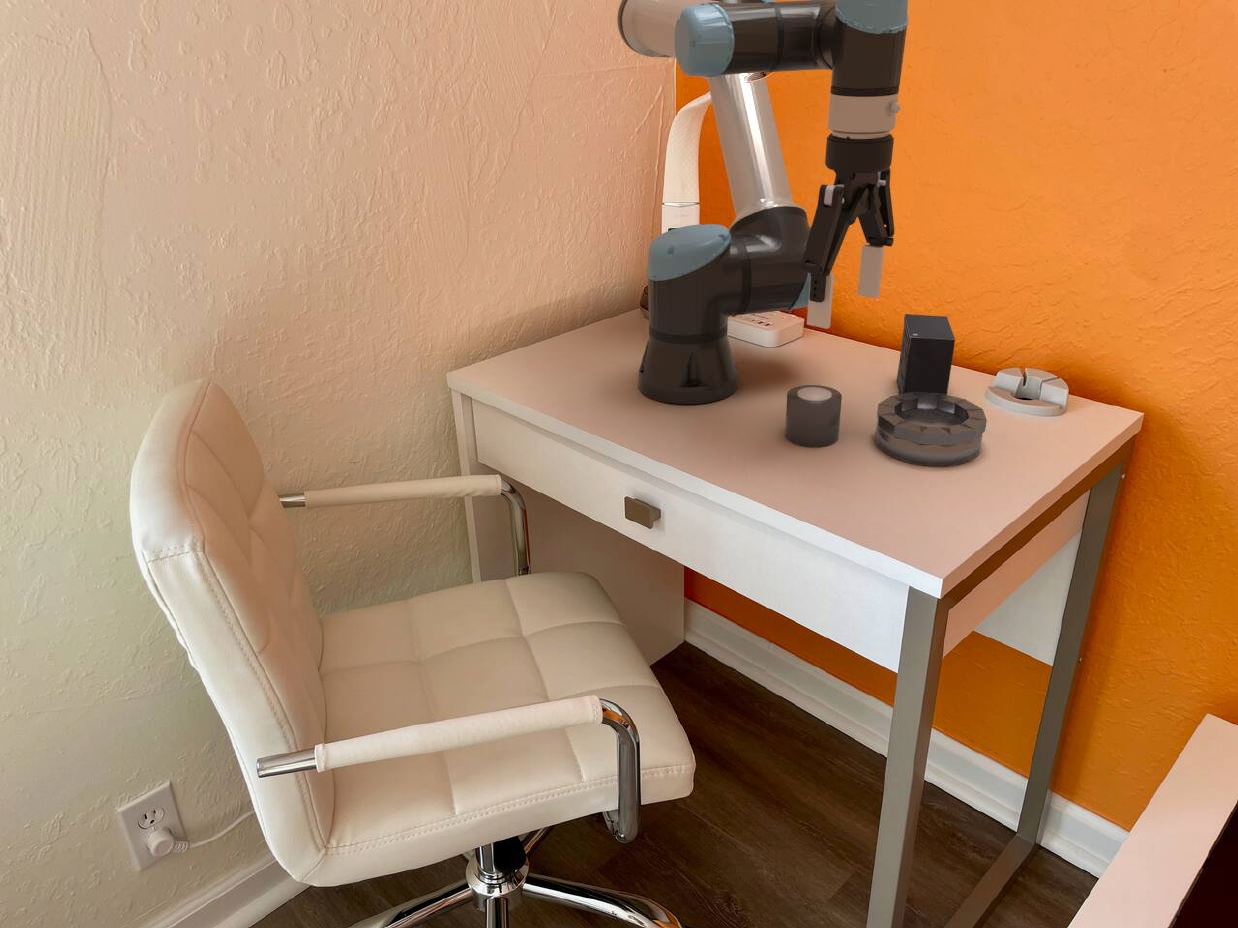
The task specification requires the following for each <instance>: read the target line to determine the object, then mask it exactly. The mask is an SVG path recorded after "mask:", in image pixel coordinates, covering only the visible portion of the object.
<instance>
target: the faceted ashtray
mask: <svg viewBox="0 0 1238 928" xmlns="http://www.w3.org/2000/svg"><path fill="white" fill-rule="evenodd" d="M876 413H877V414H876V417H877V421H876V422H877V423H876V432H875V444H876V446H877V448H878V449H879V450H880V451H881V452H883V453H884V454H885V455H887V456H889V457H891V458H892V459H893V458H894V459H896V460H898V461H901V462H904V463H909V464H913V465H917V466H922V467H937V468H939V467H941V468H942V467H953V466H954V467H955V466H958V465H963V464H966V463H969V462H971V461H973V460H974V459H976V458H977V457H978V456H979V454H980V452H981V445H982V440H983V434H984V433H985V431H986V428H987V418H986V414H985V411H984V409H983V408H982V407H980V406H978V405H976V404H974V403H973V402H971V401H969V400H968V399H966V398H961V397H957V396H953V395H950V394H947V395H946V394H942V393H926V392H910V393H904V394H899V393H898V394H894V395H893V394H892V395H890V396H888V397H886V398H885V399H884V400H882V401H881V402H879V403H878V404H877V412H876Z"/></svg>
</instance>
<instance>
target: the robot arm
mask: <svg viewBox="0 0 1238 928" xmlns="http://www.w3.org/2000/svg"><path fill="white" fill-rule="evenodd" d="M908 9H909V0H788V1H787V0H786V1H785V0H784V1H783V0H782V1H776V0H621V2H620V4H619V7H618V10H617V19H616V21H617V29H618V32H619V34H620V37H621V39H622V40H623V42H624V44H625V45H626V46H627V47H628V48H629V49H630V50H632V51H633V52H635V53H637V54H639V55H641V56H644V57H648V58H649V57H650V58H674V59H676V61H677V64H678V66H679V69H680V71H681V73H683V74H685V75H686V76H689V77H700V78H702V79H705V80H706V81H707V85H708V90H709V94H710V99H711V104H712V109H713V112H714V119H715V122H716V127H717V132H718V133H717V134H718V137H719V142H720V146H721V152H722V155H723V156H722V157H723V161H724V165H725V166H724V167H725V171H726V175H727V180H728V181H727V182H728V186H729V189H730V190H729V191H730V193H731V194H730V195H731V199H732V202H733V209H734V212H735V213H734V214H735V219H734V220H733V221H732V223H731V225H730V226H729V229H728V228H727V227H726V226H724V225H722V224H718V223H717V224H714V223H708V224H707V223H706V224H699V223H698V224H691V225H685V226H680V227H676V228H674V229H670V230H667V231H665V232H663V233H661V234H659V235H658V236H657V237H655V238H654V239H653V240H652V241H651V243H650V245H649V247H648V251H647V253H648V254H647V264H646V265H647V267H646V273H645V274H646V277H647V296H648V297H647V301H648V340H647V343H646V347H645V350H644V353H643V356H642V359H641V363H640V366H639V370H638V374H637V375H638V376H637V377H638V379H637V380H638V381H637V382H638V389H639V391H640V392H641V393H642V394H644V396H646V397H648V398H650V399H653V400H656V401H659V402H663V403H669V404H673V405H674V404H677V405H700V404H706V403H712V402H717V401H720V400H723V399H725V398H728V397H729V396H732V395H733V394H734V393H735V392H736V391H737V390H738V387H739V370H738V367H737V364H736V363H735V358H734V354H733V351H732V347H731V345H730V341H729V338H728V330H729V329H728V324H729V317H735V316H743V315H744V316H745V315H746V316H747V315H752V314H754V315H755V314H764V313H771V312H780V311H782V312H783V311H786V312H791V311H793V310H795V309H800V308H801V309H802V308H807V316H806V325H809V326H812V327H817V328H822V329H825V330H826V329H827V330H828V329H830V327H831V318H832V309H833V308H832V307H833V296H834V295H833V294H834V292H833V291H834V285H835V284H834V283H835V273H831V272H832V269H833V267H834V265H835V262H836V259H837V257H838V255H839V252H840V250H841V247H842V246H843V242H844V240H845V238H846V235H847V234H848V233H847V232H848V230H849V228H850V226H852V225H854V224H855V223H856V221H857V218H858V221H859V224H860V227H861V231H862V233H863V236H864V240H865V242H866V244H863V245H862V246H861V254H860V267H859V276H858V285H857V296H861V297H867V298H872V299H878V298H880V294H881V293H880V292H881V283H882V275H883V274H882V273H883V265H884V259H885V250H886V249H885V247H892V246H893V245H894V240H895V239H894V235H895V222H894V214H893V205H892V202H893V201H892V195H891V186H890V185H891V183H890V182H891V168H890V167H891V166H892V161H893V151H894V142H895V137H893V134H891V133H890V132H892V131H893V130H894V129H895V127H896V119H897V113H899V112H900V110H901V104H900V103H899V90H900V85H901V80H902V79H901V78H902V77H901V76H902V71H903V62H904V53H905V44H906V38H907V29H908V25H909V15H908ZM815 70H816V71H817V70H822V71H823V70H824V71H825V70H827V71H831V83H830V85H831V86H830V91H829V92H830V93H829V94H830V95H829V104H828V114H827V115H828V116H827V129H828V130H829V131H831V133H830V134H829V135H828V136H827V137H826V142H825V143H826V144H825V145H826V146H825V159H824V164H825V167H826V168H827V169H829V170H832V171H833V172H834V173H835V177H834V182H833V184H832V185H829V184H823V183H822V184H821V185H820V187H819V192H818V199H817V206H816V210H815V213H814V217H813V220H812V224H811V225H810V224H809V219H808V216H807V210H806V209H805V208H804V207H803V206H801V205H798V204H796V203H794V201H793V195H792V192H791V187H790V184H789V178H788V173H787V171H786V165H785V161H784V155H783V151H782V148H781V142H780V138H779V134H778V129H777V124H776V119H775V116H774V115H775V114H774V110H773V106H772V102H771V97H770V92H769V88H768V84H767V81H766V80H767V79H766V76H765V77H764V78H763V79H761V80H758V81H755V82H751V83H746V82H747V81H744V77H745V76H748V75H749V74H750V73H758V72H764V73H779V72H780V73H781V72H797V71H798V72H799V71H800V72H801V71H802V72H803V71H815ZM740 79H741V80H740ZM750 81H751V80H750ZM884 246H885V247H884Z"/></svg>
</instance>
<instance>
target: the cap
mask: <svg viewBox="0 0 1238 928" xmlns="http://www.w3.org/2000/svg"><path fill="white" fill-rule="evenodd" d="M842 399H843V397H842V393H841V392H840V391H839V390H837V389H835V388H833V387H830V386H826V385H820V384H806V385H805V384H804V385H798V386H793V387H792V388H790V389H789V390H788V391H787V393H786V413H785V427H784V429H785V431H784V432H785V433H784V437H785V439H786V440H787V441H788V442H789V443H791V444H793V445H795V446H799V447H804V448H811V449H812V448H813V449H815V448H819V449H821V448H826V447H829V446H832V445H834V444H836V443H837V442H838V440H839V436H840V435H839V434H840V422H841V413H842V412H841V411H842V410H841V409H842Z"/></svg>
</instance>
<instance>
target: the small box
mask: <svg viewBox="0 0 1238 928" xmlns="http://www.w3.org/2000/svg"><path fill="white" fill-rule="evenodd" d="M903 317H904V318H903V330H902V331H903V332H902V340H901V345H900V353H899V354H900V355H899V361H898V368H897V369H898V370H897V375H896V385H897V391H898V395H899V394H904V393H910V392H926V393H942V394H946V395H948V391H949V390H948V389H949V383H950V378H951V370H952V365H953V364H952V363H953V356H954V349H955V344H956V343H955V342H956V337H955V335H954V332H953V330H952V327H951V324H950V321H949V317H948V316H946V315H945V316H943V315H927V314H911V313H910V314H909V313H905V314H904V316H903Z"/></svg>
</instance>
